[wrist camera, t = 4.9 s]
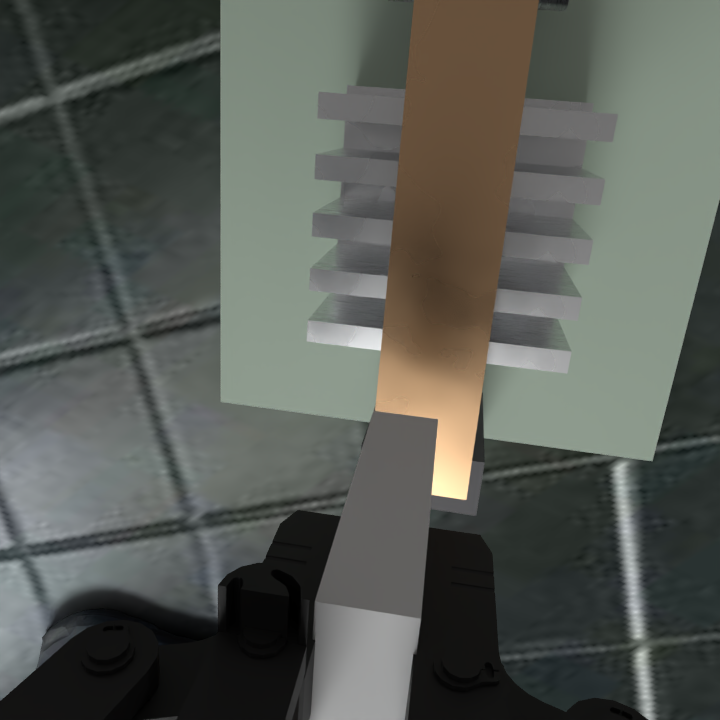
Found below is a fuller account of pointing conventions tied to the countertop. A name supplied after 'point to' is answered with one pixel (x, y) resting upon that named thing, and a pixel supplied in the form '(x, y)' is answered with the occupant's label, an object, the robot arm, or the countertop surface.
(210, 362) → the countertop surface
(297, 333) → the board
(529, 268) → the heatsink
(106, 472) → the countertop surface
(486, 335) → the strap
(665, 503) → the countertop surface
